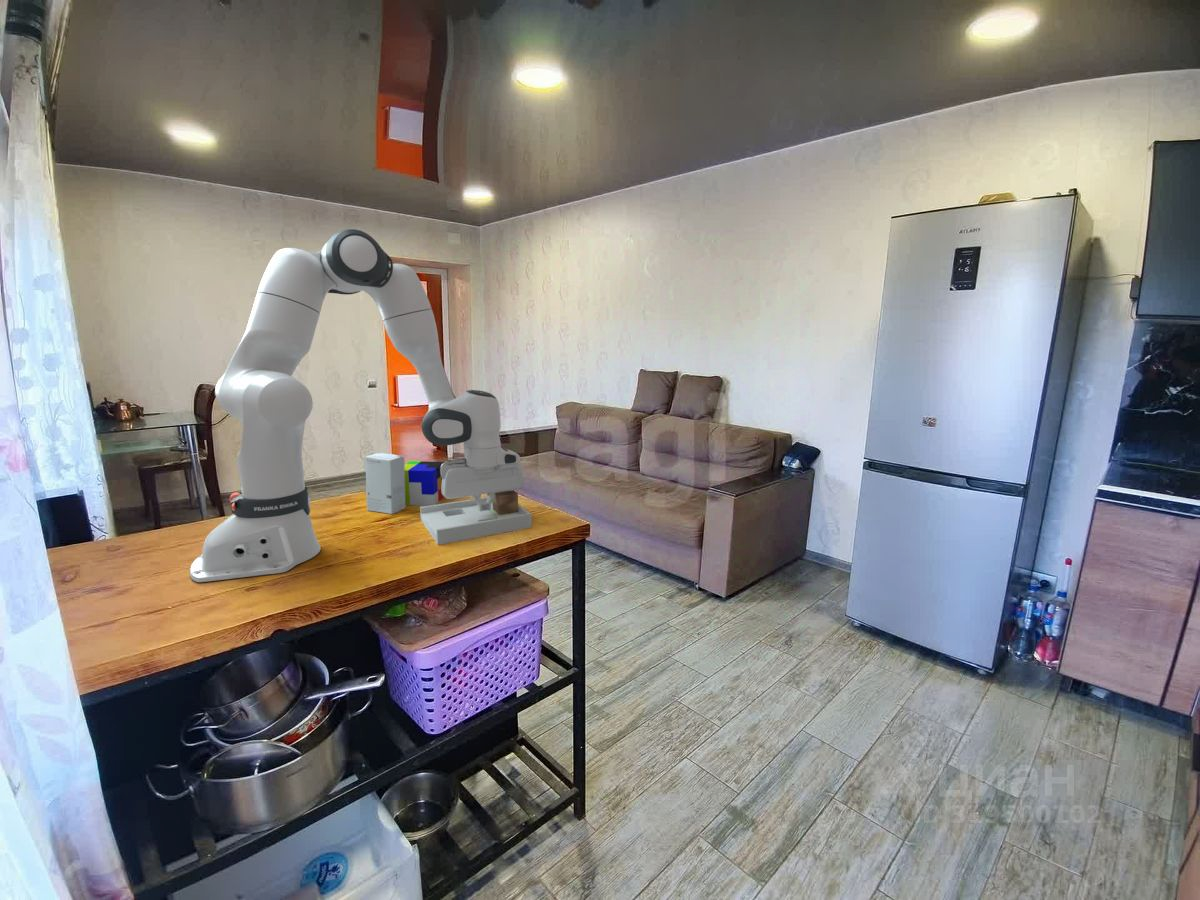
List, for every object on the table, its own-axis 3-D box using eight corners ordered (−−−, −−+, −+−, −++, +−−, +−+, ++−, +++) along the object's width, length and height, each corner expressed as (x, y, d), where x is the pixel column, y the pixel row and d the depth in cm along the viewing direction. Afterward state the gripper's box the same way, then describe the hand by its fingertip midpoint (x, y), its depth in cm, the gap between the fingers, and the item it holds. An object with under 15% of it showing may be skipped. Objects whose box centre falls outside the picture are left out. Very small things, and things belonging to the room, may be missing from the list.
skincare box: (366, 511, 136) (362, 456, 133) (382, 504, 142) (378, 451, 138) (393, 515, 134) (389, 459, 130) (408, 507, 140) (404, 454, 136)
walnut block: (499, 515, 130) (499, 496, 128) (492, 509, 134) (492, 490, 133) (518, 512, 132) (517, 493, 131) (511, 506, 136) (510, 488, 135)
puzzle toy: (434, 506, 141) (432, 471, 139) (398, 505, 141) (395, 470, 139) (445, 494, 151) (444, 461, 149) (412, 494, 151) (409, 461, 149)
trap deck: (438, 544, 116) (437, 530, 115) (420, 520, 131) (420, 506, 130) (531, 527, 127) (531, 514, 127) (506, 506, 142) (505, 494, 141)
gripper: (443, 464, 118) (445, 520, 122) (526, 455, 129) (526, 507, 132) (436, 458, 124) (439, 512, 127) (516, 450, 134) (517, 500, 137)
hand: (484, 510), depth 129 cm, fingers closed
